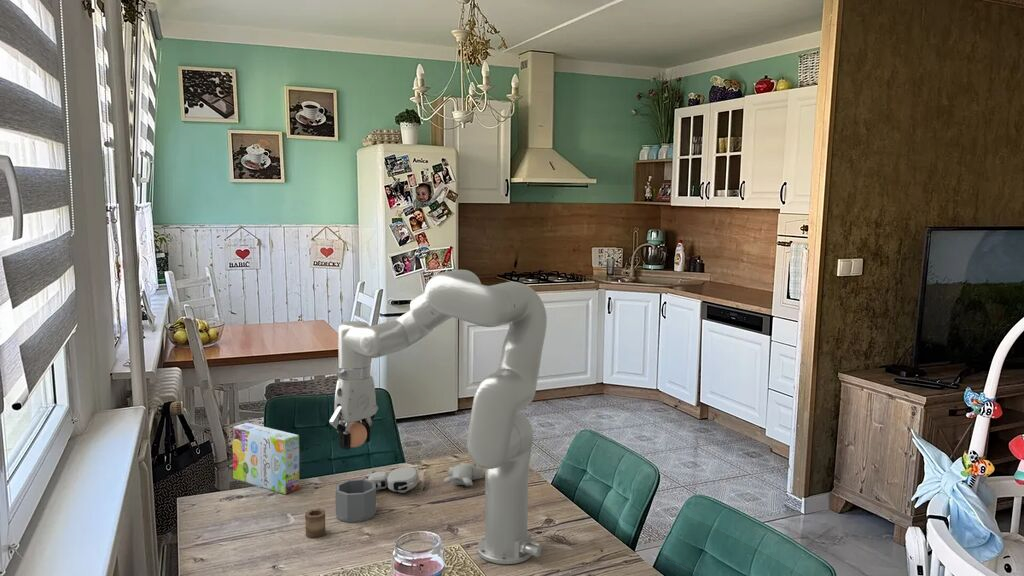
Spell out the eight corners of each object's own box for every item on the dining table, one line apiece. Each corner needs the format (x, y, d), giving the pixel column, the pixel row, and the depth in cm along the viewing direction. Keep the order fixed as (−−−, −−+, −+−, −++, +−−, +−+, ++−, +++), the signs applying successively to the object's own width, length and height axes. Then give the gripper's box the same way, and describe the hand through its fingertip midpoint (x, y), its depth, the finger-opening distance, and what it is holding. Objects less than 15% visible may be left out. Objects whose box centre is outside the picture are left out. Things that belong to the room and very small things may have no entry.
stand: (329, 532, 166) (329, 512, 165) (314, 539, 162) (314, 518, 161) (316, 527, 168) (316, 507, 167) (301, 534, 164) (301, 514, 164)
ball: (372, 445, 175) (372, 421, 174) (354, 452, 170) (354, 428, 169) (354, 440, 178) (354, 417, 177) (336, 447, 173) (336, 423, 172)
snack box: (301, 488, 191) (300, 434, 189) (285, 495, 186) (283, 440, 185) (248, 472, 202) (246, 421, 200) (231, 479, 197) (230, 426, 195)
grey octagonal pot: (383, 511, 177) (383, 484, 176) (356, 526, 169) (355, 497, 168) (356, 502, 182) (355, 476, 182) (327, 516, 174) (327, 488, 174)
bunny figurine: (485, 461, 203) (475, 474, 188) (485, 479, 203) (474, 493, 188) (453, 458, 204) (440, 471, 189) (453, 476, 204) (439, 490, 189)
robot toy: (359, 500, 186) (416, 497, 186) (357, 484, 186) (415, 480, 186) (368, 482, 198) (421, 479, 198) (366, 467, 198) (420, 463, 198)
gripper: (339, 382, 162) (339, 458, 165) (390, 368, 177) (390, 438, 179) (316, 377, 167) (317, 451, 169) (368, 364, 181) (368, 432, 183)
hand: (354, 444), depth 174 cm, fingers closed on ball, 6 cm apart
